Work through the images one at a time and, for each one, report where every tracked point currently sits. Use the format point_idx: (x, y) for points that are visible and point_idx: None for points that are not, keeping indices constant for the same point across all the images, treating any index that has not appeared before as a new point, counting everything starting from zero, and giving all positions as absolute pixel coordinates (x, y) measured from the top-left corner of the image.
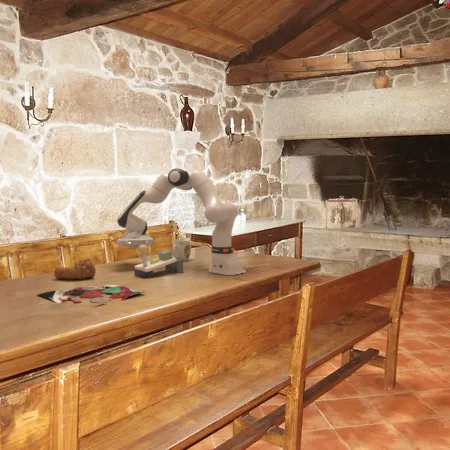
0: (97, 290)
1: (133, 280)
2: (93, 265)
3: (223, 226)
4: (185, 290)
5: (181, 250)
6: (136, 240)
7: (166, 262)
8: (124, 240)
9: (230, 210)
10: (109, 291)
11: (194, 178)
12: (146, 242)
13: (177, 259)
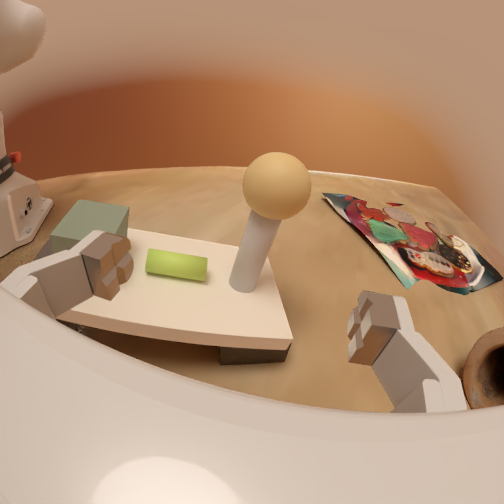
0: (417, 250)
1: (318, 287)
2: (492, 330)
3: None
4: (232, 183)
5: None
6: (176, 376)
7: (145, 231)
8: (488, 407)
9: None
10: (391, 229)
11: None
12: (112, 234)
13: (47, 252)
